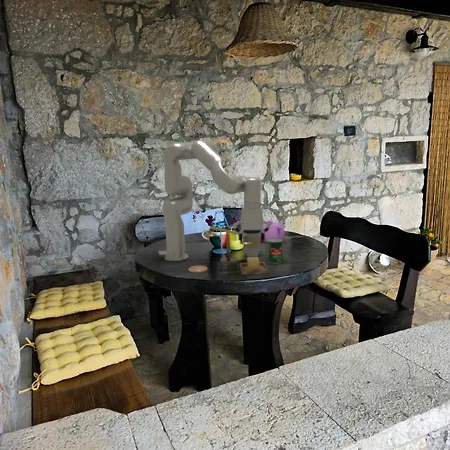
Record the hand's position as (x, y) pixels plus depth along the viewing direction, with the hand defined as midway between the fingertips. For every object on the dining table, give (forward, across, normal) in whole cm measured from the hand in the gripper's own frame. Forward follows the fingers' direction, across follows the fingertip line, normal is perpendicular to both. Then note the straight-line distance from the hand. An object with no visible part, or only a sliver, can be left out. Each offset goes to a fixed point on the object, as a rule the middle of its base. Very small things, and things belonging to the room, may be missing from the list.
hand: (251, 241), depth 186 cm
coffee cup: (+14, -3, -24) cm, 28 cm away
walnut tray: (+14, -1, +1) cm, 14 cm away
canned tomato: (+14, -13, -12) cm, 23 cm away
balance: (+14, +10, -14) cm, 22 cm away
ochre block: (+13, -1, +1) cm, 13 cm away
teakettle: (+14, -16, -56) cm, 60 cm away
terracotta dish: (+14, +25, -3) cm, 29 cm away
